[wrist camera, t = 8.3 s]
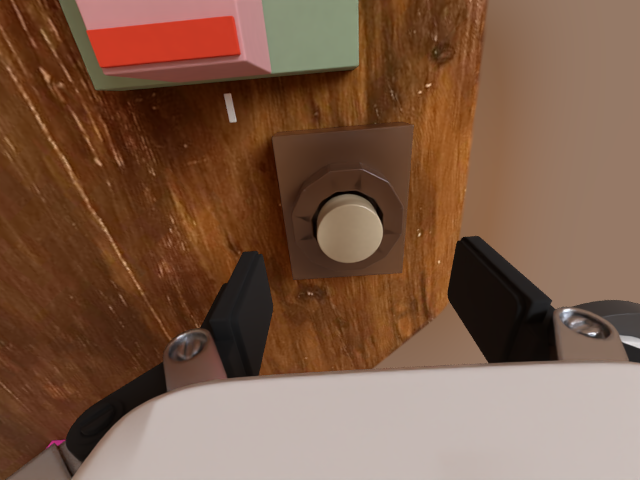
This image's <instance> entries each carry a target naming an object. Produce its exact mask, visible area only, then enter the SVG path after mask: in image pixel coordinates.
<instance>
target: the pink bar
mask: <svg viewBox="0 0 640 480" xmlns="http://www.w3.org/2000/svg"><path fill="white" fill-rule="evenodd" d="M75 1H76V4H77V6H78V9H79V11H80V14H81V16H82V19H83V22H84V24H85V27H86V29H87V31H86V32H87V35H88V37H89V40H90V43H91V45H92V48H93V50H94V53H95V55H96V58H97V61H98V63H99V66H100V67H101V68H102V71H103V73H104V74H105V75H107V76H117V77H127V78H137V79H148V80H158V81H168V82H178V83H179V82H190V81H200V80H211V79H222V78H232V77H243V76H254V75H265V74H271V72H272V71H271V64H270V57H269V50H268V43H267V35H266V28H265V21H264V14H263V7H262V0H75Z"/></svg>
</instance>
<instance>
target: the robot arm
mask: <svg viewBox="0 0 640 480" xmlns="http://www.w3.org/2000/svg"><path fill="white" fill-rule="evenodd" d="M448 299H449V301H450V303H451V304H452V306H453V308H454V309H455V311H456V312H457V314H458V316H459V317H460V319H461V320H462V322H463V323H464V325H465V327H466V328H467V330H468V331H469V333H470V334H471V336H472V337H473V339H474V341H475V342H476V344H477V345H478V347H479V349H480V350H481V352H482V353H483V355H484V357H485V358H486V360H487V361H488V364H487V363H485V364H463V365H443V366H424V367H403V368H386V369H385V368H383V369H364V370H346V371H328V372H311V373H293V374H277V375H263V376H259V371H260V367H261V362H262V358H263V353H264V348H265V344H266V339H267V335H268V330H269V326H270V321H271V317H272V312H273V303H272V298H271V293H270V288H269V283H268V278H267V273H266V268H265V264H264V259H263V255H262V254H258V252H257V251H250V252H243V253H242V255H241V257H240V259H239V261H238V263H237V265H236V267H235V269H234V271H233V273H232V275H231V277H230V279H229V281H228V283H225V284H223V285H222V287H221V289H220V291H219V293H218V295H217V296H216V298H215V300H214V302H213V304H212V306H211V308H210V310H209V312H208V314H207V316H206V318H205V320H204V322H203V324H202V325H201V327H200V328H195V329H190V330H187V331H184V332H182V333H180V334H179V335H177V336H176V337H174V338H173V339H172V340H171V341H170V342H169V343H168V344H167V345H166V347H165V349H164V351H163V362H162V363H160V364H159V365H157V366H155V367H154V368H152V369H151V370H149V371H147V372H146V373H144V374H143V375H141V376H139V377H138V378H136V379H134V380H133V381H131V382H130V383H128V384H126V385H125V386H123V387H121V388H120V389H118V390H117V391H115V392H113V393H112V394H110V395H108V396H107V397H105V398H104V399H102V400H100V401H99V402H97V403H96V404H94V405H93V406H91V407H90V408H89V409H87V410H86V411H85V412H84V413H83V414H82V415H81V416H80V417H79V418H78V419H77V420H76V421H75V423H74V424H73V425H72V427H71V428H70V430H69V432H68V434H67V437H66V440H65V441H64V442H62V443H61V444H60V445H58V446H57V445H56V444H55V443H53V444H52V445H50V446H49V447H48V448H46V449H45V450H44V451H42V452H41V453H40V454H39V455H37V456H36V457H35V458H33V459H32V460H31V461H29V462H28V463H27V464H25V465H24V466H23V467H21V468H20V469H19V470H17V471H16V472H15V473H13V474H12V475H11V476H9V477H8V478H7V479H5V480H640V339H639V338H636V337H632V336H623V335H619V333H618V331H617V330H616V328H615V327H614V326H613V325H612V324H611V323H610V322H608V321H607V320H605V319H604V318H602V317H600V316H599V315H596V314H594V313H592V312H590V311H586V310H583V309H580V308H574V307H561V308H558V309H554V308H553V307H552V306H551V305H550V304H551V302H552V300H551V299H550V298H549V297H548V296H546V295H545V294H544V293H543V292H542V291H541V290H539V288H537V287H536V286H535V285H534V284H533V283H532V282H531V281H529V280H528V279H527V278H526V277H525V276H524V275H523V274H521V273H520V272H519V271H518V270H517V269H516V268H514V267H513V266H512V265H511V264H510V263H509V262H508V261H506V260H505V259H504V258H503V257H502V256H501V255H500V254H498V253H497V252H496V251H495V250H494V249H493V248H492V247H490V246H489V245H488V244H487V243H486V242H485V241H484V240H482V239H481V238H480V237H479V236H472V237H463V238H462V239H461V241H458V242H457V244H456V249H455V254H454V260H453V265H452V271H451V276H450V282H449V287H448Z"/></svg>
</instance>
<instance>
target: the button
mask: <svg viewBox="0 0 640 480" xmlns="http://www.w3.org/2000/svg"><path fill="white" fill-rule="evenodd" d="M382 236H383V228H382V224H381V221H380V219H379V217H378V215H377V213H376V211H375V209H374V207H373V206H372V204H371V203H370V202H369V201H368V200H366V199H365V198H363V197H361V196H358V195H354V194H344V195H339V196H336V197H334V198H332V199H330V200H329V201H328V202H327V203H326V204H325V205H324V206H323V207H322V208H321V210H320V212H319V214H318V218H317V241H318V244H319V246H320V248H321V250H322V251H323V252H324V253H325V254H326V255H327V256H328V257H329V258H331V259H333V260H335V261H338V262H342V263H355V262H359V261H362V260H364V259H366V258H368V257H369V256H371V255H372V254H373V253H374V252H375V251H376V250H377V248H378V247H379V245H380V243H381V240H382Z"/></svg>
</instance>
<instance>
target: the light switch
mask: <svg viewBox="0 0 640 480" xmlns="http://www.w3.org/2000/svg"><path fill="white" fill-rule="evenodd" d="M413 128H414V125H412V124H408V123H405V122H393V123H381V124H370V125H358V126H346V127H334V128H322V129H310V130H298V131H286V132H277V133H276V134H275V135H273V136H272V144H273V150H274V157H275V163H276V170H277V176H278V183H279V190H280V196H281V203H282V209H283V216H284V222H285V229H286V236H287V242H288V249H289V255H290V262H291V268H292V275H293V280H299V279H314V278H330V277H345V276H361V275H376V274H392V273H402V268H403V255H404V242H405V230H406V217H407V204H408V192H409V179H410V166H411V153H412V141H413ZM344 194H354V195H358V196H361V197H363V198H365V199H366V200H368V201H369V202H370V203H371V204H372V206H373V207H374V209H375V211H376V213H377V215H378V217H379V219H380V221H381V224H382V228H383V236H382V240H381V243H380V245H379V247H378V248H377V250H376V251H375V252H374V253H373V254H372V255H371V256H369V257H368V258H366V259H364V260H362V261H359V262H355V263H342V262H338V261H335V260H333V259H331V258H329V257H328V256H327V255H326V254H325V253H324V252H323V251H322V250H321V248H320V246H319V244H318V241H317V218H318V214H319V212H320V210H321V208H322V207H323V206H324V205H325V204H326V203H327V202H328V201H329V200H330V199H332V198H334V197H336V196H339V195H344Z"/></svg>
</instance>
